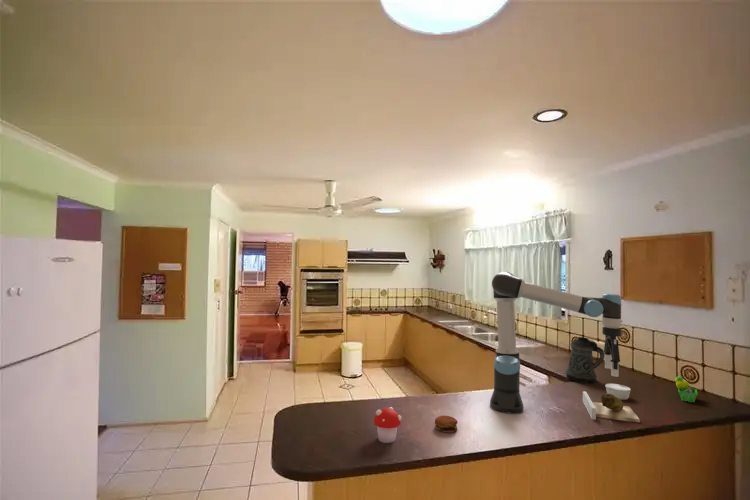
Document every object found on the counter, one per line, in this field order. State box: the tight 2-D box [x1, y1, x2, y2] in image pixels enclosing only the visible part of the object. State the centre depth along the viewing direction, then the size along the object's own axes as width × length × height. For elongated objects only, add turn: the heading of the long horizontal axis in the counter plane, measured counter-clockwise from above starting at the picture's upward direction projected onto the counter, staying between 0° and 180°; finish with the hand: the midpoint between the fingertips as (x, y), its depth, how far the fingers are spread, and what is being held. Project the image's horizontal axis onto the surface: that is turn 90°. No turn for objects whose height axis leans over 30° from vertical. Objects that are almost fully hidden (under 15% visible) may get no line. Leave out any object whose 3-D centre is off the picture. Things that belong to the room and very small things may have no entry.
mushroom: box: [373, 406, 402, 444], centre depth 149 cm, size 11×11×12 cm
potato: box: [600, 392, 624, 411], centre depth 179 cm, size 8×13×8 cm, turn 104°
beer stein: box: [565, 336, 606, 384], centre depth 232 cm, size 16×19×25 cm
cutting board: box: [592, 401, 641, 423], centre depth 179 cm, size 17×16×2 cm
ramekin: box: [604, 383, 632, 401], centre depth 202 cm, size 11×11×5 cm
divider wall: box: [582, 391, 597, 421], centre depth 183 cm, size 2×24×5 cm, turn 160°
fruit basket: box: [674, 376, 698, 403], centre depth 200 cm, size 11×9×11 cm
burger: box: [434, 415, 459, 433], centre depth 160 cm, size 10×9×5 cm
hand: (611, 372), depth 180 cm, fingers open, 13 cm apart
